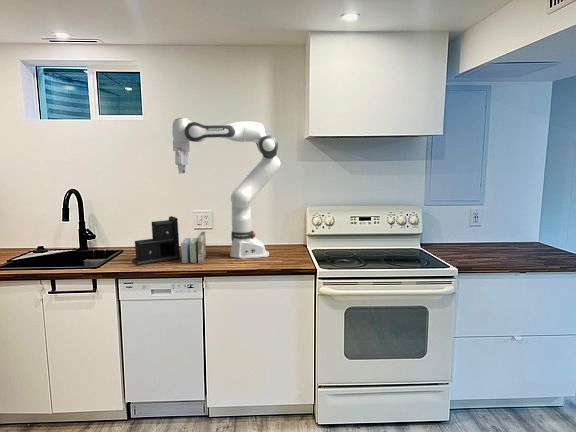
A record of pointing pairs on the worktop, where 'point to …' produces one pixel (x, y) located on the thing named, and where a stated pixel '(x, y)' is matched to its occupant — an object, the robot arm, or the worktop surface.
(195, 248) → the book
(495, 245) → the worktop surface
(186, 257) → the book
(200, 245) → the end board
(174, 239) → the black stepped block
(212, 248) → the worktop surface
